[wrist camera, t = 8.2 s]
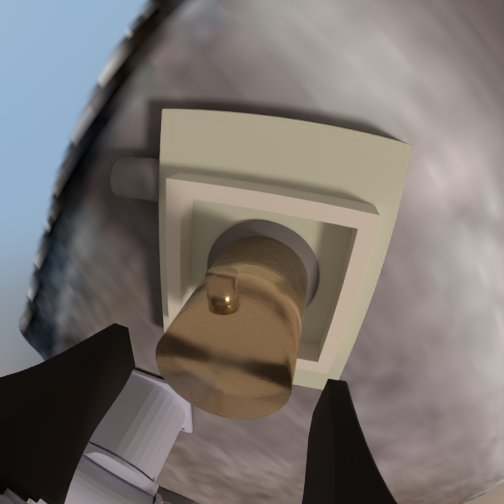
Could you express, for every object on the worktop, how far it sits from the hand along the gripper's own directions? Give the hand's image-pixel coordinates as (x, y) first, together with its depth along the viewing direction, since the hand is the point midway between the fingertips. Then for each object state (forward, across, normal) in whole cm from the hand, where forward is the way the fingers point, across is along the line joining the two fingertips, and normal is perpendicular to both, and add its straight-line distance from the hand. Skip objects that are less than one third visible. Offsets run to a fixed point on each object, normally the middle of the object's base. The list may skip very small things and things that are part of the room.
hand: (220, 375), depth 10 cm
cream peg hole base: (+9, +2, 0) cm, 9 cm away
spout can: (+7, 0, 0) cm, 7 cm away
